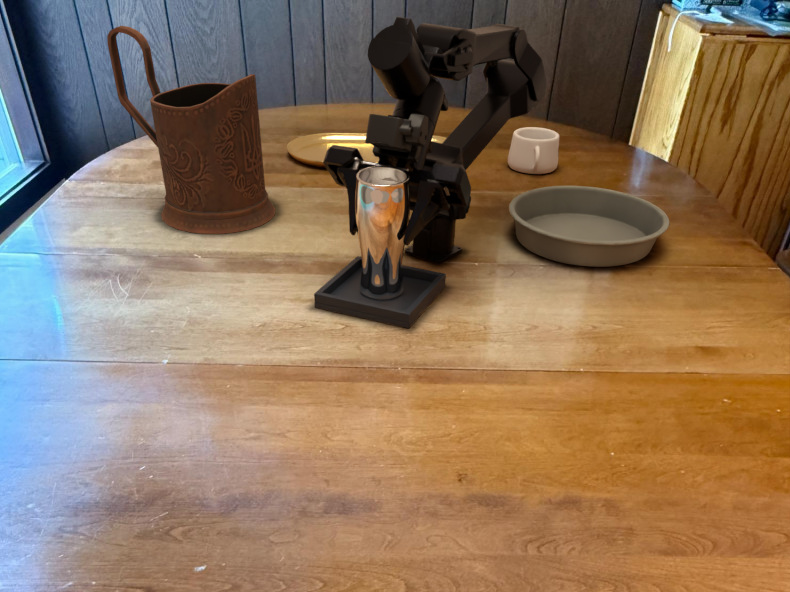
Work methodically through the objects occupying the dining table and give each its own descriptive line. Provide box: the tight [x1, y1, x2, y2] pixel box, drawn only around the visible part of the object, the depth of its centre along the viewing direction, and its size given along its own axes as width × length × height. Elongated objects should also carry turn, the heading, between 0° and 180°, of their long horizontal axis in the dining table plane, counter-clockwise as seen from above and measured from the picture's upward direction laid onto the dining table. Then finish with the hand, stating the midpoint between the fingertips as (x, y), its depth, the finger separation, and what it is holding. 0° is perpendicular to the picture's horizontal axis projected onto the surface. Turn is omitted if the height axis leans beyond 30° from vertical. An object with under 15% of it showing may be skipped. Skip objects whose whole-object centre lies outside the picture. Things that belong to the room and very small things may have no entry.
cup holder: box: [106, 25, 276, 235], centre depth 120 cm, size 18×24×25 cm
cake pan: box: [508, 185, 670, 268], centre depth 122 cm, size 25×25×4 cm
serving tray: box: [313, 255, 447, 329], centre depth 105 cm, size 14×14×2 cm
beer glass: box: [355, 166, 411, 300], centre depth 100 cm, size 7×7×15 cm
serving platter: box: [286, 132, 447, 169], centre depth 151 cm, size 19×35×2 cm, turn 93°
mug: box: [507, 126, 560, 175], centre depth 147 cm, size 12×10×6 cm
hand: (378, 238), depth 99 cm, fingers open, 7 cm apart
